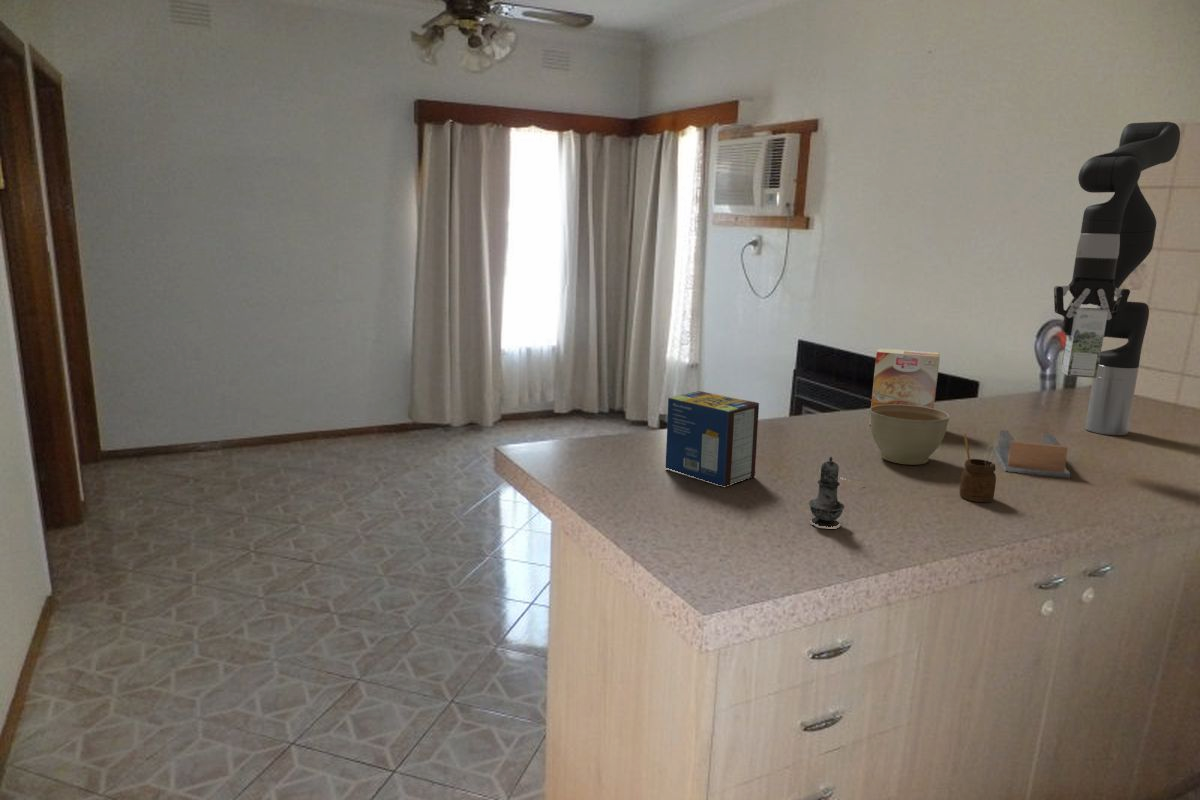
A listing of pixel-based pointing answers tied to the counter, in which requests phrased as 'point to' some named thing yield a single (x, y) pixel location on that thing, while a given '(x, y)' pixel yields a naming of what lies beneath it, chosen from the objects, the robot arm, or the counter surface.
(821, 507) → the salt shaker
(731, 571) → the counter surface
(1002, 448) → the guide bracket
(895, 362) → the coffeecake box
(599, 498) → the counter surface
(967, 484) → the utensil holder
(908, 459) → the planter bowl
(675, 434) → the protein box
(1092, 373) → the syrup box
